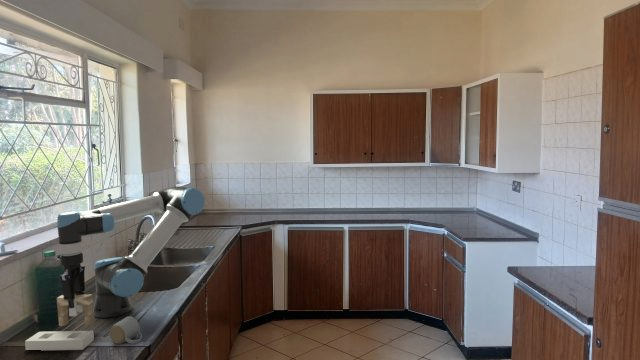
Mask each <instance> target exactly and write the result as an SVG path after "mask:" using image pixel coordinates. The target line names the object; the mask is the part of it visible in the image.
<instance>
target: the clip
mask: <svg viewBox="0 0 640 360" xmlns="http://www.w3.org/2000/svg"><path fill="white" fill-rule="evenodd" d="M93 297H94V296H93V293H92V294H91V293H90V294H89V293H87V294H84V295H75V299H76V301H77V305H82V306H83V312H84V314H83V315H84V324H85V326H92V325H93V324H94V323H95V316H94V308H93V307H94V298H93ZM56 306H57V316H58V318H57V319H58V326H59V327H65V326H66V325H68V324H69V323H70V322H69V305H68V300H64V297H63V294H61V295H59V296H58V297H56Z"/></svg>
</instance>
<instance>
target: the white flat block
mask: <svg viewBox="0 0 640 360" xmlns="http://www.w3.org/2000/svg"><path fill="white" fill-rule="evenodd" d="M94 340H95V335H94V330H66V331H65V330H60V331H59V330H56V331H55V330H54V331H38V332H36V333H35V334H33V335H32V336H30V337H29V338H27V339H26V340H25V341H24V344H25V345H24V346H25V351H26V350H41V351H81V350H82V351H83V350H84V349H86V347H88V346H89V345H90V344H91V343H92V342H94Z"/></svg>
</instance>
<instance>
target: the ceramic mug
mask: <svg viewBox="0 0 640 360" xmlns="http://www.w3.org/2000/svg"><path fill="white" fill-rule="evenodd" d="M140 328H141V327H140V323H139V321H138V320H137V319H136V318H135V317H134V316H130V315H129V316H125V317H124V318H122V319H121V320H119V321H118V322H116V323H114V324H113V326H111V327H110V328H109V332H108V333H109V338H110V340H111V341H112V342H113V343H114V344H117V345H118V344H119V345H120V344H123V343H125V342H127V343H128V344H131V345H132V344H133V345H134V344H138V343H140V342H141V340H142V339H143V334H142V333H141V330H140ZM136 336H139V338H138V339H133V338H135V337H136Z"/></svg>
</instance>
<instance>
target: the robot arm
mask: <svg viewBox="0 0 640 360" xmlns="http://www.w3.org/2000/svg"><path fill="white" fill-rule="evenodd" d="M205 205H206V201H205V196H204V194H203V192H202V191H201V190H199V189H198V188H195V187H192V186H191V187H189V186H188V187H185V186H173V187H169V188H166V189H163V190H159V191H155V192H154V193H153V194H152V195H149V196H144V197H140V198H136V199H131V200H128V201H123V202H120V203H114V204H110V205H107V206H103V207H99V208H96V209H91V210H80V211H68V212H62V213H59V214H58V215H57V217H56V218H57V220H56V225H57V226H56V227H57V234H58V244H59V245H58V247H59V254H60V256H59V258H60V265H61V266H63V267H64V268H63V274H60V275H59V279H60V281H61V290H62V295H63V297H64V300H68V305H67V306H68V317H77V316H78V313H83V312H84V307H83V305H77V301H76V299H75V295H85V290H86V287H85V286H86V285H85V283H86V282H85V280H86V279H85V270H86V266H85V265H81V264H82V263H83V262H84V253H83V243H82V242H83V241H82V237H86V236H90V235H97V234H105V233H110V232H112V231H114V229H115V223H117V222H118V223H119V222H121V221H125V220H129V219H133V218H137V217H139V216H144V215H149V214H152V213H155V212H158V213H163V215H161V217H160V218H159V219H158V221H157V222H156V223H155V224H154V225H153V227H152V228H151V229H150V231H149V232H148V233H147V234H145V236H144V237H143V239H142V240H141V241H140V242H139V244H138V245H137V246H136V248H134V250H133V251H132V252H131V253H130V254H129V255H126V256H123V257H122V256H119V257H118V256H117V257H111V258H110V257H109V258H104V259H100V260H97V261H96V262H95V263H94V268H93V269H94V276H95V278H94V279H95V294H96V295H95V300H94V302H93V308H94V318H101V319H103V318H104V319H105V318H114V317H118V316H122V315H125V314H127V313H129V312H130V311H132V303H131V300H130V297H132V296H134V295H136V294H137V293H139V292H140V291H141V289H142V288H143V285H144V279H145V278H144V277H146V275H147V274H148V267H149V265H150V264H151V263H152V262H153V261H154V259H155V258H156V257H157V255H158V254H159V253H160V252H161V250H162V249H163V248H164V246H165V245H166V244H167V243H168V241H169V240H170V239H171V238H172V236H173V235H174V234H175V233H176V232H177V230H178V229H179V228H180V226H181V225H182V224H183V223H187V222H189V220H191V218H192V217H193V216H195V215H198V214H200V213H201V212H202V211H203V210H204V208H205Z"/></svg>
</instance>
